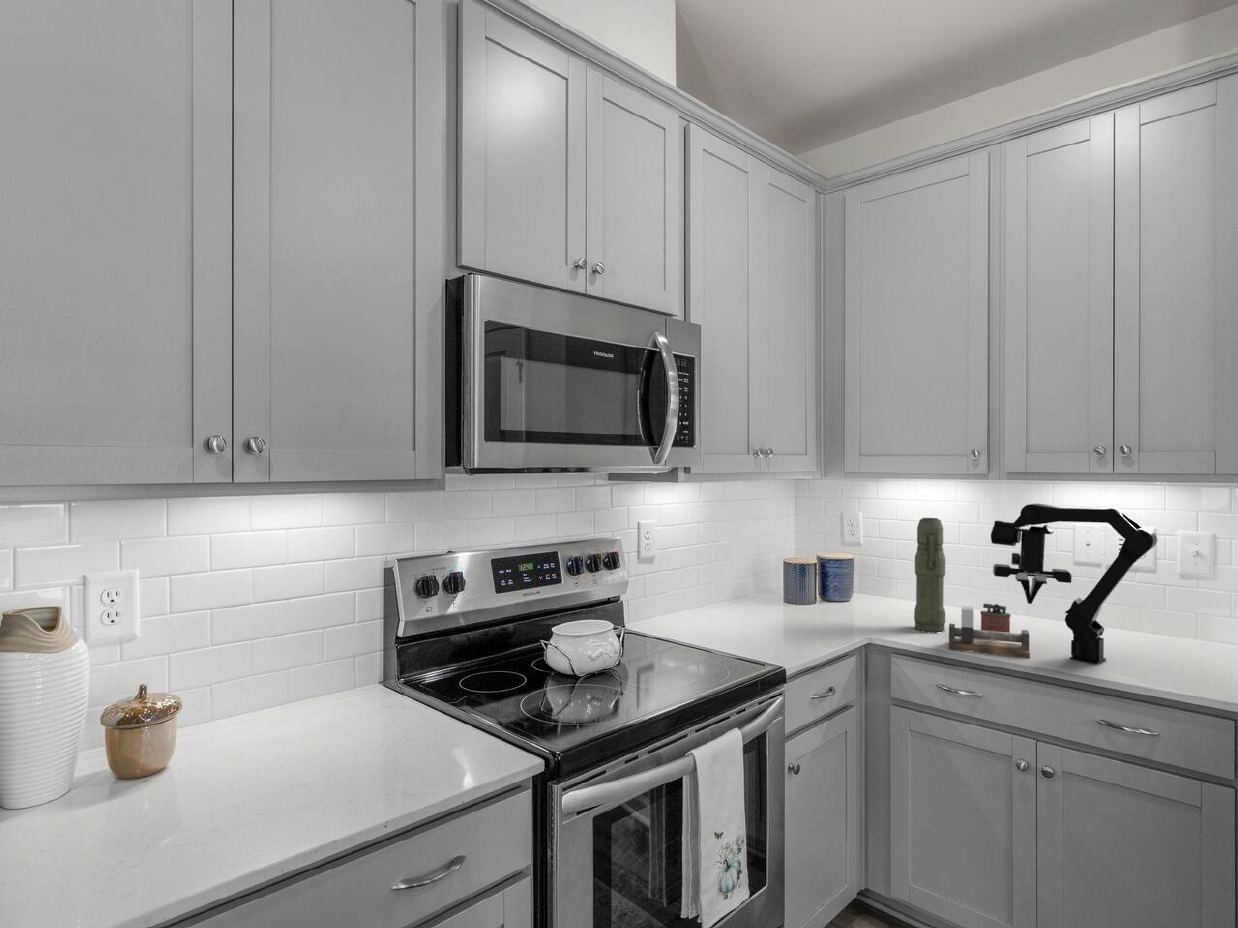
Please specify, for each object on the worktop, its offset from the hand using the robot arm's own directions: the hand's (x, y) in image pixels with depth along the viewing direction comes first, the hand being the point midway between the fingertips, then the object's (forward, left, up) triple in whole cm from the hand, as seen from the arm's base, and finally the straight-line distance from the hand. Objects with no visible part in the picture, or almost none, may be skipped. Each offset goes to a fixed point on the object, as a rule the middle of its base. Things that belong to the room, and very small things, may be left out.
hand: (1029, 603), depth 206 cm
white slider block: (+12, +11, -11) cm, 20 cm away
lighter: (+13, -7, -13) cm, 20 cm away
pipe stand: (+7, +9, -13) cm, 18 cm away
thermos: (+30, 0, -13) cm, 33 cm away
